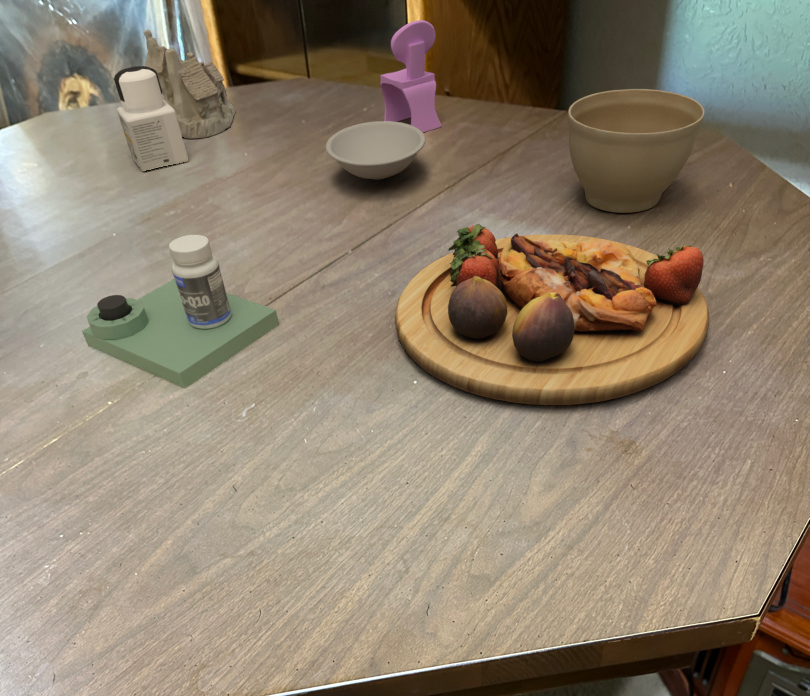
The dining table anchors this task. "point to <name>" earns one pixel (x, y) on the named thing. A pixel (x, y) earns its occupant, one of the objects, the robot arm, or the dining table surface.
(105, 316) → the button
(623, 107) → the planter bowl
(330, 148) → the dish
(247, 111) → the dining table surface
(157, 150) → the container
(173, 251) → the pill bottle
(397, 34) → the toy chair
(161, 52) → the ceramic cottage
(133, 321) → the scale
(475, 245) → the wooden plate
